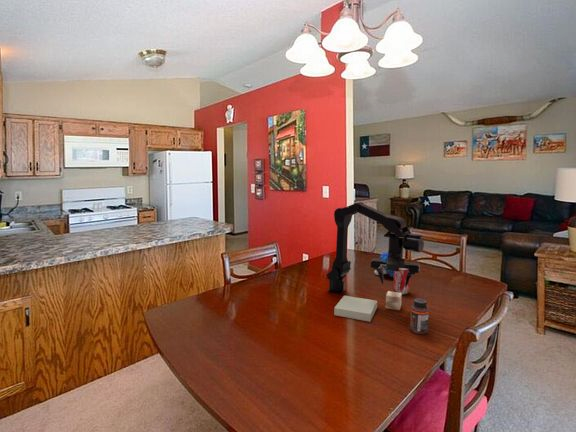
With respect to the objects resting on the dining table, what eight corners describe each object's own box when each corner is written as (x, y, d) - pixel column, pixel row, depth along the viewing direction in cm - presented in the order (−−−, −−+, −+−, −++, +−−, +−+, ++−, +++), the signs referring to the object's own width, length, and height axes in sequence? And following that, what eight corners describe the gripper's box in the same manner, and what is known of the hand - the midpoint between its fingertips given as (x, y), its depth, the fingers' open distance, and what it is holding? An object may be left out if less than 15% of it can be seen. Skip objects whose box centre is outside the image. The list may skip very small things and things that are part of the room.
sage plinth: (334, 315, 131) (334, 307, 130) (344, 302, 143) (344, 295, 143) (370, 321, 125) (370, 314, 124) (377, 307, 137) (377, 300, 137)
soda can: (410, 295, 150) (411, 270, 148) (394, 294, 151) (395, 269, 150) (407, 290, 157) (409, 265, 155) (392, 289, 158) (393, 264, 156)
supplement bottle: (406, 327, 120) (408, 297, 119) (422, 326, 121) (424, 296, 119) (414, 335, 114) (416, 304, 113) (431, 334, 115) (432, 303, 113)
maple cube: (385, 308, 137) (386, 295, 136) (387, 303, 142) (388, 291, 141) (399, 310, 135) (400, 297, 134) (401, 305, 140) (401, 292, 139)
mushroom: (366, 257, 185) (390, 243, 180) (381, 276, 187) (404, 262, 182) (368, 270, 172) (394, 255, 167) (384, 289, 174) (409, 275, 169)
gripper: (368, 250, 132) (367, 288, 134) (418, 255, 124) (416, 295, 126) (373, 244, 142) (372, 280, 144) (420, 249, 134) (418, 286, 136)
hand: (394, 285), depth 137 cm, fingers open, 9 cm apart
